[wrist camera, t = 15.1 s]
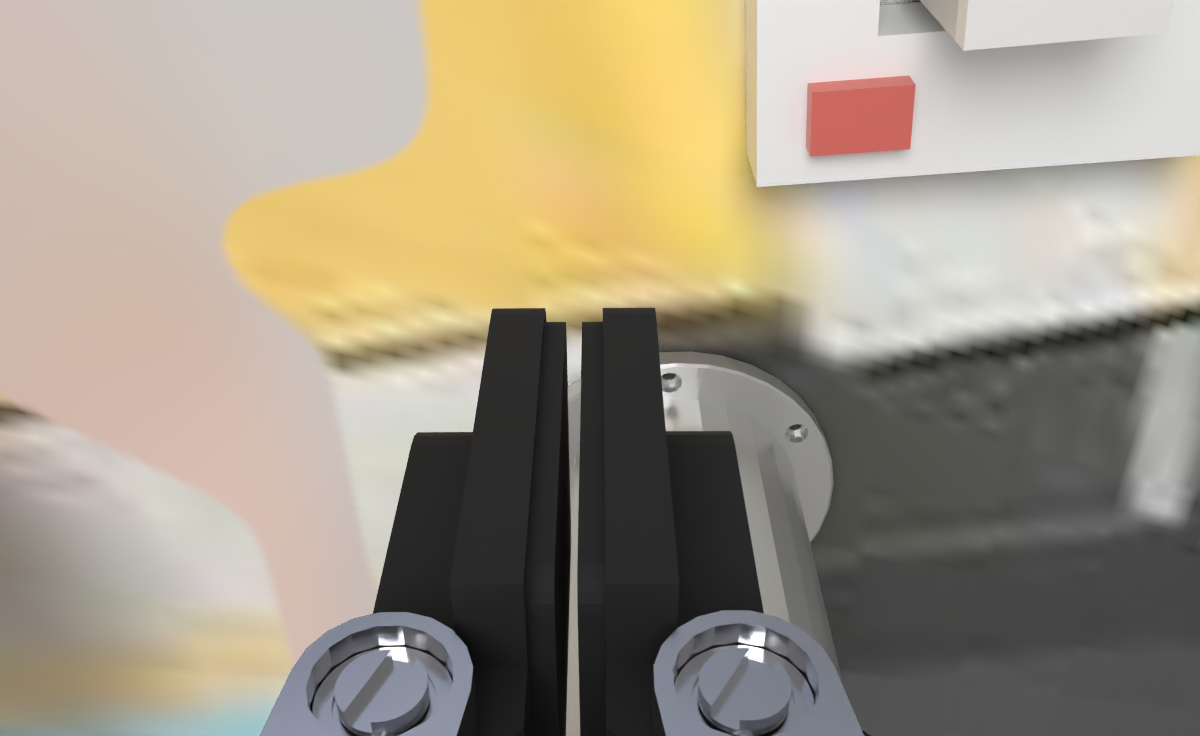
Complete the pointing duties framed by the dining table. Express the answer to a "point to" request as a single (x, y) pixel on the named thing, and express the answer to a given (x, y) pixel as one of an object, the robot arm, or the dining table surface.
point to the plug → (1047, 20)
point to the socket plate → (954, 95)
